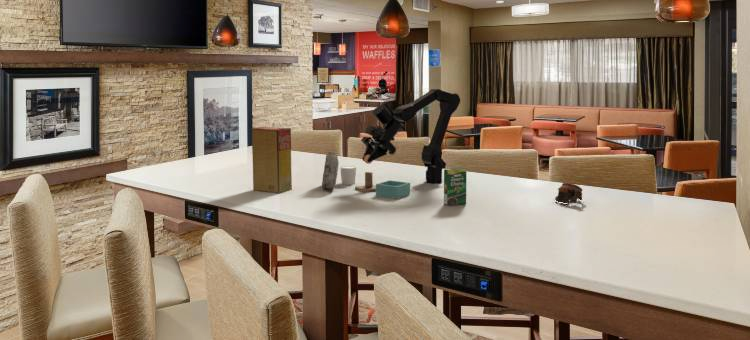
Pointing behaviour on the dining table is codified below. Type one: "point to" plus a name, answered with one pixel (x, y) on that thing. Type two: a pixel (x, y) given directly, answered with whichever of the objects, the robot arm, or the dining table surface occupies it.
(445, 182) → the coffee box
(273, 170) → the food packaging
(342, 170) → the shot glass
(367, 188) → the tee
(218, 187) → the dining table surface
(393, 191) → the teal open-top box
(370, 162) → the ball
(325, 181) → the decorative rock
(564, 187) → the dark brown lump
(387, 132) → the robot arm
